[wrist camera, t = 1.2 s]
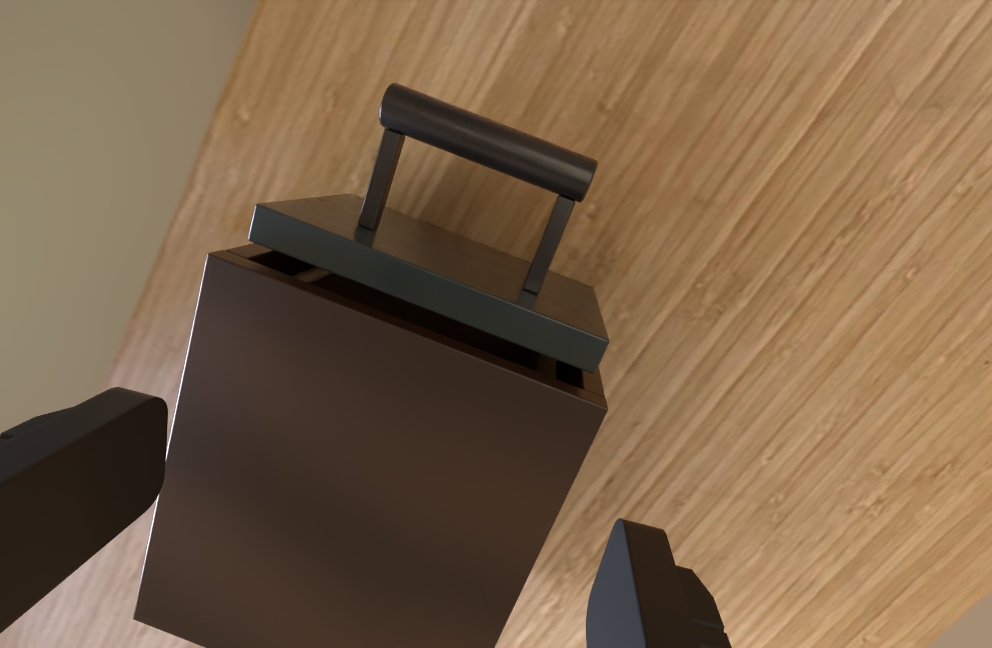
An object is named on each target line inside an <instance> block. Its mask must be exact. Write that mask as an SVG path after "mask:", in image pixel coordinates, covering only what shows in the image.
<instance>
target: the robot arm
mask: <svg viewBox="0 0 992 648" xmlns="http://www.w3.org/2000/svg"><path fill="white" fill-rule="evenodd" d="M167 422H168V408H167V404H166V402H165V401H164V400H163V399H162V398H159V397H155V396H151V395H147V394H144V393H140V392H136V391H132V390H128V389H124V388H120V387H115V388H111V389H109V390H107V391H105V392H103V393H101V394H99V395H97V396H95V397H93V398H91V399H89V400H87V401H85V402H83V403H81V404H79V405H77V406H75V407H71V408H67V409H63V410H60V411H56V412H52V413H48V414H45V415H41V416H37V417H34V418H32V419H30V420H28V421H26V422H23V423H22V424H19V425H17V426H15V427H13V428H11V429H9V430H7V431H5V432H3V433H1V435H0V633H1V632H3V631H4V630H5V629H6V628H7V627H9V626H10V625H11V624H12V623H13V622H15V621H16V620H17V619H18V618H19V617H21V616H22V615H23V614H24V613H25V612H27V611H28V610H29V609H30V608H31V607H32V606H34V605H35V604H36V603H37V602H38V601H40V600H41V599H42V598H43V597H44V596H46V595H47V594H48V593H49V592H50V591H52V590H53V589H54V588H55V587H56V586H57V585H59V584H60V583H61V582H62V581H63V580H65V579H66V578H67V577H68V576H69V575H71V574H72V573H73V572H74V571H75V570H77V569H78V568H79V567H80V566H81V565H83V564H84V563H85V562H86V561H87V560H88V559H90V558H91V557H92V556H93V555H94V554H96V553H97V552H98V551H99V550H100V549H102V548H103V547H104V546H105V545H106V544H108V543H109V542H110V541H111V540H112V539H114V538H115V537H116V536H117V535H118V534H119V533H121V532H122V531H123V530H124V529H125V528H127V527H128V526H129V525H130V524H131V523H133V522H134V521H135V520H136V519H137V518H139V517H140V516H141V515H142V514H143V513H144V512H146V511H147V510H148V509H149V508H150V506H151V505H152V504H153V503H154V501H155V500H156V498H157V496H158V495H159V493H160V490H161V488H162V486H163V482H164V478H165V468H166V445H167ZM586 640H587V648H732V647H731V645H730V642H729V639H728V636H727V634H726V633H724V625H723V622H722V620H721V617H720V614H719V611H718V609H717V606H716V603H715V600H714V598H713V596H712V595H711V594H710V592H709V591H708V590H707V589H706V587H705V586H704V585H703V583H702V582H701V581H700V579H699V578H698V577H697V576H696V574H695V573H694V572H693V570H691V569H687V568H684V567H680V566H676V565H675V562H674V558H673V555H672V552H671V548H670V545H669V542H668V538H667V535H666V533H665V531H664V530H663V529H659V528H656V527H652V526H648V525H644V524H640V523H636V522H632V521H629V520H625V519H621V518H619V519H618V520H617V521H616V522H615V524H614V526H613V529H612V531H611V534H610V537H609V540H608V543H607V546H606V549H605V552H604V555H603V558H602V560H601V563H600V566H599V569H598V572H597V575H596V578H595V581H594V584H593V587H592V590H591V593H590V597H589V602H588V608H587V617H586Z"/></svg>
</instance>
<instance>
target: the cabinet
mask: <svg viewBox="0 0 992 648" xmlns="http://www.w3.org/2000/svg"><path fill="white" fill-rule="evenodd" d="M313 267H316V266H313V265H310V264H308V263H305V262H303V261H300V260H298V259H295V258H292V257H290V256H287V255H285V254H282V253H280V252H277V251H274V250H272V249H269V248H267V247H264V246H261V245H259V244H256V243H253V244H249V245H244V246H240V247H236V248H232V249H227V250H221V251H216V252H212V253H208V255H207V259H206V264H205V269H204V274H203V278H202V283H201V288H200V293H199V298H198V303H197V308H196V313H195V318H194V322H193V327H192V332H191V337H190V342H189V347H188V352H187V357H186V362H185V366H184V371H183V376H182V381H181V386H180V391H179V396H178V401H177V406H176V411H175V415H174V420H173V425H172V430H171V435H170V440H169V445H168V450H167V455H166V468H165V478H164V482H163V486H162V488H161V490H160V493H159V495H158V499H157V503H156V508H155V513H154V518H153V523H152V528H151V533H150V538H149V543H148V548H147V552H146V557H145V562H144V567H143V572H142V577H141V582H140V587H139V592H138V596H137V601H136V606H135V611H134V616H133V619H134V620H137V621H139V622H142V623H144V624H147V625H149V626H152V627H154V628H157V629H160V630H162V631H165V632H167V633H170V634H172V635H175V636H177V637H180V638H183V639H185V640H188V641H190V642H193V643H195V644H198V645H200V646H203V647H206V648H494V647H495V645H496V643H497V641H498V639H499V637H500V635H501V633H502V631H503V629H504V626H505V624H506V622H507V620H508V618H509V616H510V614H511V612H512V610H513V608H514V606H515V603H516V601H517V599H518V597H519V595H520V593H521V591H522V589H523V587H524V585H525V583H526V580H527V578H528V576H529V574H530V572H531V570H532V568H533V566H534V564H535V562H536V559H537V557H538V555H539V553H540V551H541V549H542V547H543V545H544V543H545V541H546V539H547V536H548V534H549V532H550V530H551V528H552V526H553V524H554V522H555V520H556V518H557V516H558V513H559V511H560V509H561V507H562V505H563V503H564V501H565V499H566V497H567V495H568V493H569V490H570V488H571V486H572V484H573V482H574V480H575V478H576V476H577V474H578V472H579V470H580V467H581V465H582V463H583V461H584V459H585V457H586V455H587V453H588V451H589V449H590V447H591V444H592V442H593V440H594V438H595V436H596V434H597V432H598V430H599V428H600V426H601V423H602V421H603V419H604V417H605V415H606V413H607V411H608V406H607V401H606V399H605V395H604V390H603V385H602V380H601V375H600V370H599V366H598V368H597V370H596V372H595V373H594V374H591V373H589V372H586V371H584V370H581V369H579V368H576V367H573V366H571V365H568V364H566V363H563V362H561V361H558V360H556V379H554V378H552V377H549V376H547V375H544V374H542V373H539V372H536V371H534V370H531V369H529V368H526V367H524V366H521V365H518V364H516V363H513V362H511V361H508V360H505V359H503V358H500V357H498V356H495V355H493V354H490V353H487V352H485V351H482V350H480V349H477V348H475V347H472V346H469V345H467V344H464V343H462V342H459V341H457V340H454V339H451V338H449V337H446V336H444V335H441V334H438V333H436V332H433V331H431V330H428V329H426V328H423V327H420V326H418V325H415V324H413V323H410V322H408V321H405V320H402V319H400V318H397V317H395V316H392V315H390V314H387V313H384V312H382V311H379V310H377V309H374V308H372V307H369V306H366V305H364V304H361V303H359V302H356V301H353V300H351V299H348V298H346V297H343V296H341V295H338V294H335V293H333V292H330V291H328V290H325V289H323V288H320V287H317V286H315V285H312V284H310V283H307V282H305V281H302V280H299V279H297V278H294V277H292V276H293V275H295V274H298V273H300V272H303V271H305V270H308V269H310V268H313Z"/></svg>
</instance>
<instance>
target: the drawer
mask: <svg viewBox="0 0 992 648" xmlns="http://www.w3.org/2000/svg"><path fill="white" fill-rule="evenodd" d="M379 121H380V124H381V125H382V126H383V127H385V128H388V129H385V130H384V132H383V136H382V139H381V143H380V146H379V150H378V153H377V157H376V160H375V164H374V167H373V171H372V174H371V178H370V181H369V185H368V188H367V192H366V195H365V199H364V198H361V197H359V196H356V195H353V194H343V195H334V196H325V197H316V198H306V199H297V200H288V201H279V202H269V203H260V204H256V206H255V210H254V214H253V219H252V223H251V228H250V232H249V237H248V240H249V241H251V242H254V243H256V244H259V245H261V246H264V247H267V248H269V249H272V250H274V251H277V252H280V253H282V254H285V255H287V256H290V257H292V258H295V259H298V260H300V261H303V262H305V263H308V264H310V265H313V266H316V267H313V268H310V269H308V270H305V271H303V272H300V273H298V274H295V275H293V276H292V277H294V278H297V279H299V280H302V281H305V282H307V283H310V284H312V285H315V286H317V287H320V288H323V289H325V290H328V291H330V292H333V293H335V294H338V295H341V296H343V297H346V298H348V299H351V300H353V301H356V302H359V303H361V304H364V305H366V306H369V307H372V308H374V309H377V310H379V311H382V312H384V313H387V314H390V315H392V316H395V317H397V318H400V319H402V320H405V321H408V322H410V323H413V324H415V325H418V326H420V327H423V328H426V329H428V330H431V331H433V332H436V333H438V334H441V335H444V336H446V337H449V338H451V339H454V340H457V341H459V342H462V343H464V344H467V345H469V346H472V347H475V348H477V349H480V350H482V351H485V352H487V353H490V354H493V355H495V356H498V357H500V358H503V359H505V360H508V361H511V362H513V363H516V364H518V365H521V366H524V367H526V368H529V369H531V370H534V371H536V372H539V373H542V374H544V375H547V376H549V377H552V378H554V379H556V360H558V361H561V362H563V363H566V364H568V365H571V366H573V367H576V368H579V369H581V370H584V371H586V372H589V373H591V374H594V373H595V372H596V370H597V368H598V366H599V364H600V361H601V359H602V357H603V355H604V353H605V350H606V348H607V346H608V344H609V338H608V335H607V331H606V328H605V325H604V321H603V318H602V315H601V312H600V308H599V305H598V302H597V298H596V295H595V292H594V288H593V287H591V286H589V285H586V284H583V283H581V282H578V281H576V280H573V279H570V278H568V277H565V276H563V275H560V274H558V273H555V272H552V271H550V270H548V269H549V267H550V264H551V262H552V259H553V257H554V254H555V252H556V250H557V247H558V245H559V242H560V240H561V237H562V235H563V232H564V230H565V227H566V225H567V222H568V220H569V217H570V215H571V212H572V210H573V207H574V205H575V201H577V202H582V201H583V200H584V198H585V196H586V193H587V191H588V189H589V187H590V184H591V182H592V179H593V177H594V174H595V171H596V168H597V165H598V162H597V161H596V160H594V159H591V158H589V157H586V156H584V155H581V154H578V153H576V152H573V151H571V150H568V149H565V148H563V147H560V146H558V145H555V144H553V143H550V142H547V141H545V140H542V139H540V138H537V137H534V136H532V135H529V134H527V133H524V132H521V131H519V130H516V129H514V128H511V127H508V126H506V125H503V124H501V123H498V122H496V121H493V120H490V119H488V118H485V117H483V116H480V115H477V114H475V113H472V112H470V111H467V110H464V109H462V108H459V107H457V106H454V105H451V104H449V103H446V102H444V101H441V100H438V99H436V98H433V97H431V96H428V95H426V94H423V93H420V92H418V91H415V90H413V89H410V88H407V87H405V86H402V85H400V84H397V83H392V84H390V85H389V87H388V88H387V90H386V92H385V94H384V96H383V99H382V102H381V106H380V112H379ZM405 135H406V136H408V137H411V138H413V139H416V140H419V141H421V142H424V143H426V144H429V145H432V146H434V147H437V148H439V149H442V150H445V151H447V152H450V153H452V154H455V155H457V156H460V157H463V158H465V159H468V160H470V161H473V162H476V163H478V164H481V165H483V166H486V167H489V168H491V169H494V170H496V171H499V172H501V173H504V174H507V175H509V176H512V177H514V178H517V179H520V180H522V181H525V182H527V183H530V184H533V185H535V186H538V187H540V188H543V189H545V190H548V191H551V192H553V193H556V194H558V197H557V199H556V202H555V204H554V207H553V209H552V212H551V215H550V217H549V220H548V222H547V225H546V227H545V230H544V232H543V235H542V237H541V240H540V243H539V245H538V248H537V250H536V253H535V255H534V258H533V260H532V263H529V262H527V261H524V260H521V259H519V258H516V257H514V256H511V255H508V254H506V253H503V252H501V251H498V250H496V249H493V248H490V247H488V246H485V245H483V244H480V243H477V242H475V241H472V240H470V239H467V238H465V237H462V236H459V235H457V234H454V233H452V232H449V231H446V230H444V229H441V228H439V227H436V226H434V225H431V224H428V223H426V222H423V221H421V220H418V219H415V218H413V217H410V216H408V215H405V214H403V213H400V212H397V211H395V210H392V209H390V208H387V207H385V204H386V200H387V197H388V194H389V190H390V187H391V184H392V180H393V177H394V174H395V170H396V167H397V164H398V160H399V157H400V154H401V150H402V147H403V143H404V140H405Z"/></svg>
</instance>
